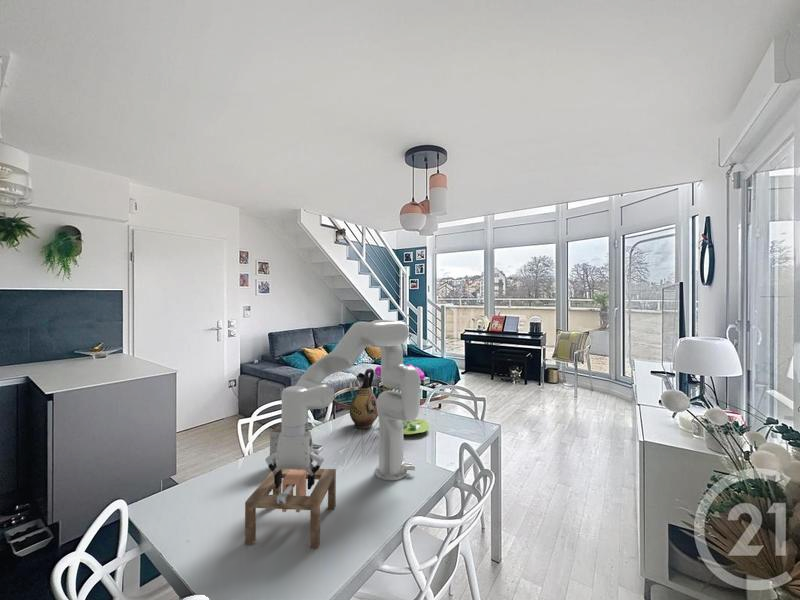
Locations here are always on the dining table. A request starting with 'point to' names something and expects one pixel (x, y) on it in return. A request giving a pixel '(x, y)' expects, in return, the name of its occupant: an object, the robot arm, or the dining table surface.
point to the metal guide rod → (285, 493)
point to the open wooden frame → (292, 502)
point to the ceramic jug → (364, 402)
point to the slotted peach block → (295, 483)
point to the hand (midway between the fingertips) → (294, 486)
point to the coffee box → (274, 440)
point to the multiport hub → (317, 449)
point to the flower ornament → (417, 424)
